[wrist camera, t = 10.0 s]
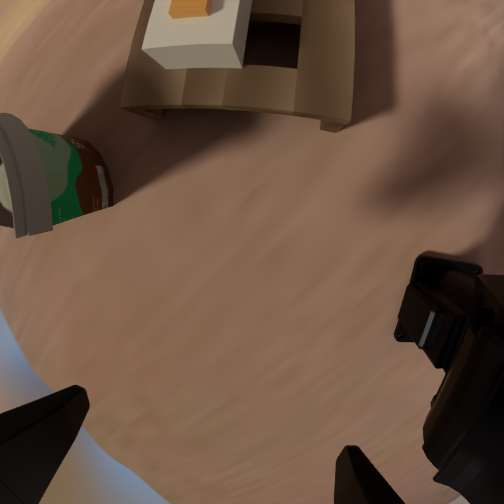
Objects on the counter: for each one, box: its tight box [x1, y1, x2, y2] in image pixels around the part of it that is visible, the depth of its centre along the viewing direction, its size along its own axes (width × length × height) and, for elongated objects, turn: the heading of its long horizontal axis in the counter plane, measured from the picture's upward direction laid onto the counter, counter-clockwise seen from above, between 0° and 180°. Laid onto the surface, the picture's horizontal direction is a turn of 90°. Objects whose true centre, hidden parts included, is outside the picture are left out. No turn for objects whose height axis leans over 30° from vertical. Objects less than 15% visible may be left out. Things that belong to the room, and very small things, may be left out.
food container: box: [0, 113, 113, 238], centre depth 13 cm, size 12×6×10 cm, turn 83°
